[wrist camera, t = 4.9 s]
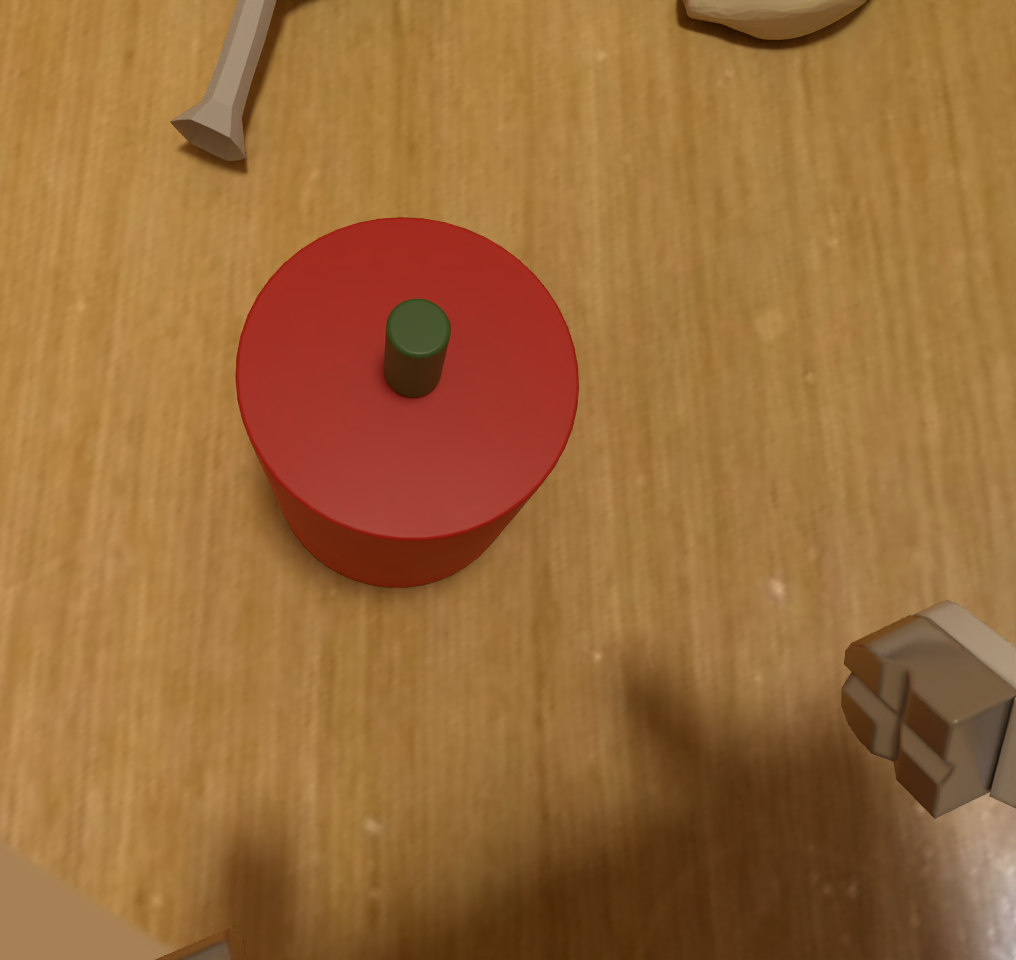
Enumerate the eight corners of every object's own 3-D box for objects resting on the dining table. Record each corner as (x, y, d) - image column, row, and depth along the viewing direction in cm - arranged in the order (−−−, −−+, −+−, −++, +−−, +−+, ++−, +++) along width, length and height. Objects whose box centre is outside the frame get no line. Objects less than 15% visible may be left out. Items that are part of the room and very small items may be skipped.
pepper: (540, 561, 22) (649, 478, 14) (297, 610, 21) (251, 554, 13) (488, 338, 24) (560, 133, 15) (257, 374, 22) (187, 174, 14)
